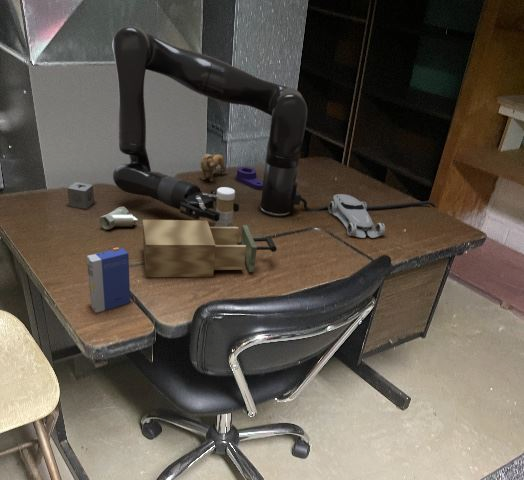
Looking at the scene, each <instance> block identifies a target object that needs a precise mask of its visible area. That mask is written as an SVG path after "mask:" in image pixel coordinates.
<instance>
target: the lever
mask: <svg viewBox="0 0 524 480" xmlns="http://www.w3.org/2000/svg"><path fill="white" fill-rule="evenodd" d="M257 171H258V170H257V169H256V168H253V167H250V166H239V167H237V169H236V181H237V182H240V183H242V184H244V185H246V186H248V187H250V188H252V189H254V190H260V191H261V190H262V188H263V180H262V179H260V178H259V177H258V176H257Z"/></svg>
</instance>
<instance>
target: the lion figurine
mask: <svg viewBox="0 0 524 480" xmlns="http://www.w3.org/2000/svg"><path fill="white" fill-rule="evenodd" d="M218 165H219V166H220V168H219V170H220V171H222V172H221V175H226V165H225V159H224V156H223V155H222V154H214V155H212V154H210V153H205V154H204V155H202V157H201V159H200V169H201V170H202V177H201V180H202V181H206V179H207V174H209V182H214V174H215V173H216V171H217V168H218Z"/></svg>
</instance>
